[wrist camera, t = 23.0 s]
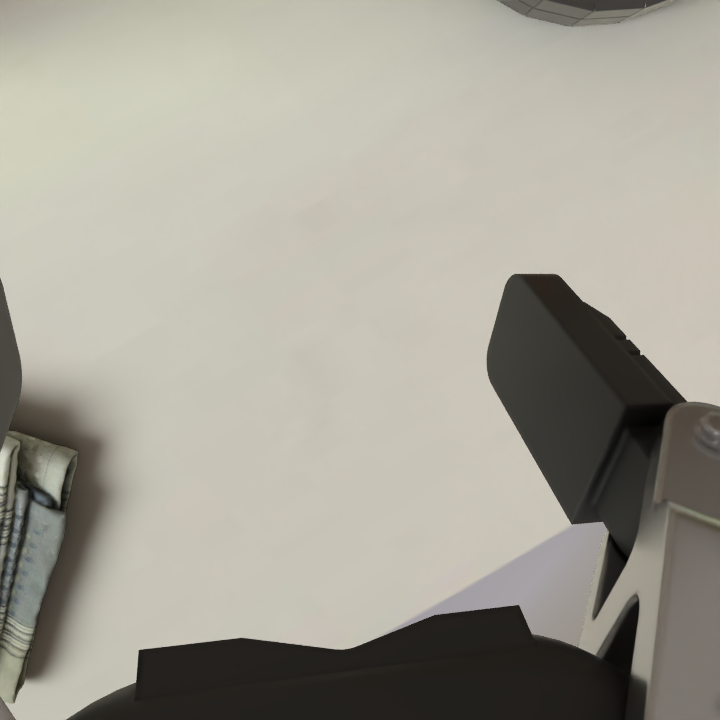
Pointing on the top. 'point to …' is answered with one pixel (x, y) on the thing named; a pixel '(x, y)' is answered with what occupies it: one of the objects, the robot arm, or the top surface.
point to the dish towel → (28, 543)
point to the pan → (584, 10)
